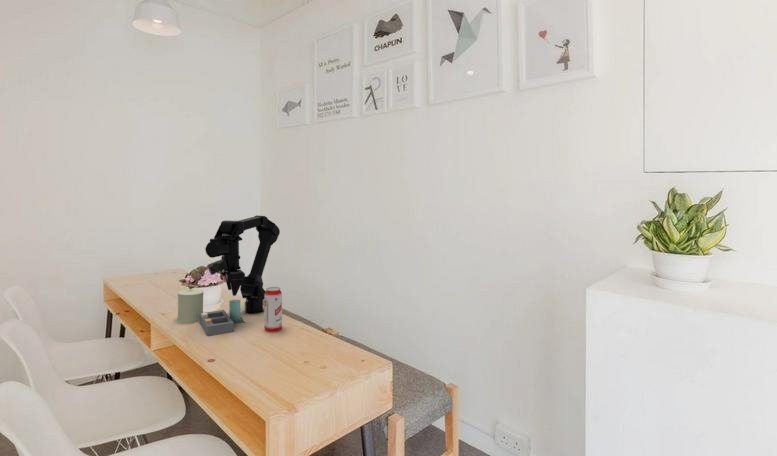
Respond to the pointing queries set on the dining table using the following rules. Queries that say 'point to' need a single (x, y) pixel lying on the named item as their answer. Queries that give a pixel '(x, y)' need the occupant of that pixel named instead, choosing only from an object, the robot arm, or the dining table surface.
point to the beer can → (273, 309)
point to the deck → (240, 321)
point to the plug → (235, 310)
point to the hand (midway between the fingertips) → (232, 292)
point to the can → (190, 305)
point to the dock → (216, 322)
